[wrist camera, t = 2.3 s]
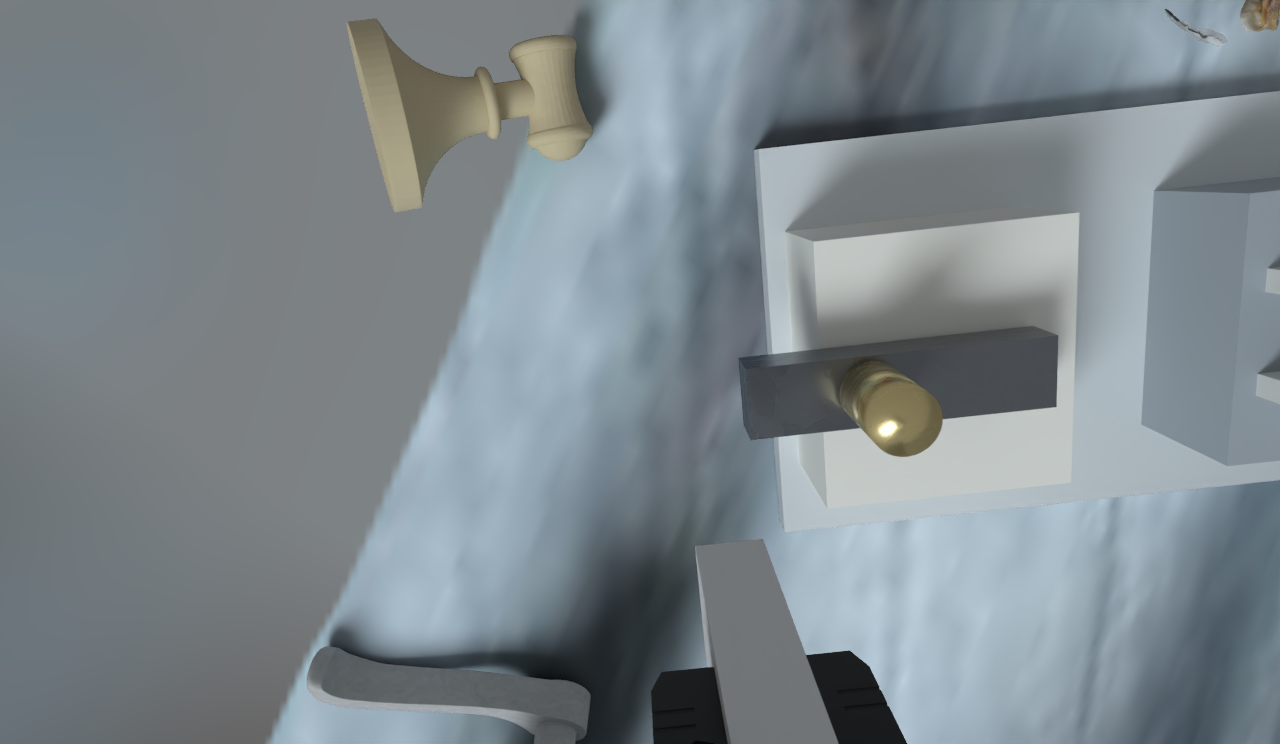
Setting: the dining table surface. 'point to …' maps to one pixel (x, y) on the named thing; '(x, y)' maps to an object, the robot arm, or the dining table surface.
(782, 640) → the robot arm
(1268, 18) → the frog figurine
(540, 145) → the door knob
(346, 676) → the door handle
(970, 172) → the white stepped platform
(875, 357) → the bolt
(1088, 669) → the dining table surface
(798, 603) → the dining table surface
